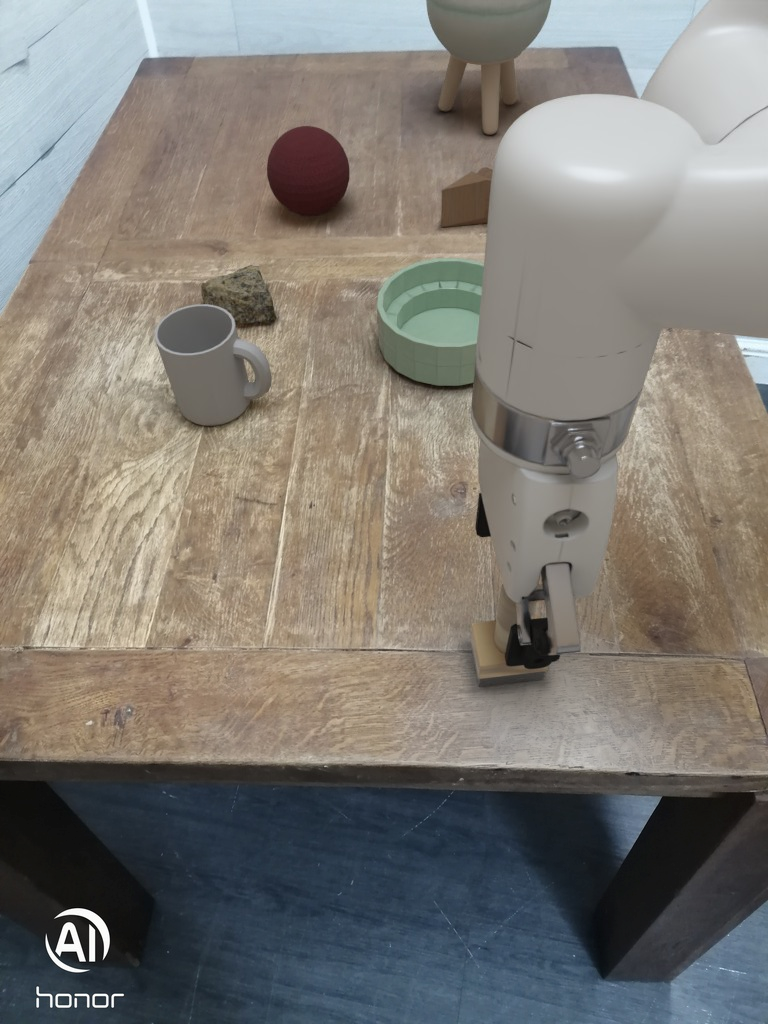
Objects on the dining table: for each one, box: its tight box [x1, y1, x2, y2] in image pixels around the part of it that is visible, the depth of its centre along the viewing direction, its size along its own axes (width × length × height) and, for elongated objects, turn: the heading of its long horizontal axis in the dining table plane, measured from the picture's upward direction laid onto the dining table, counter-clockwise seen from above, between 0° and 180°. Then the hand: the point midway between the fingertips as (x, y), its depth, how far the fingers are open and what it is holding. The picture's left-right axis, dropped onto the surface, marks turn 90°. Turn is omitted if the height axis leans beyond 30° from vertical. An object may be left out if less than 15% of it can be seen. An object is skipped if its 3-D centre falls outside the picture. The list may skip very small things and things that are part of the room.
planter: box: [425, 0, 552, 136], centre depth 102 cm, size 16×16×22 cm
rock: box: [200, 264, 277, 324], centre depth 83 cm, size 7×8×4 cm
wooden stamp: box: [469, 583, 550, 688], centre depth 53 cm, size 5×4×10 cm
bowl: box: [376, 257, 484, 387], centre depth 78 cm, size 14×14×6 cm
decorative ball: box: [266, 125, 351, 217], centre depth 93 cm, size 10×10×10 cm
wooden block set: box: [440, 166, 493, 228], centre depth 91 cm, size 17×6×18 cm
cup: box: [154, 303, 273, 427], centre depth 72 cm, size 7×10×9 cm
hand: (513, 591), depth 49 cm, fingers open, 9 cm apart
